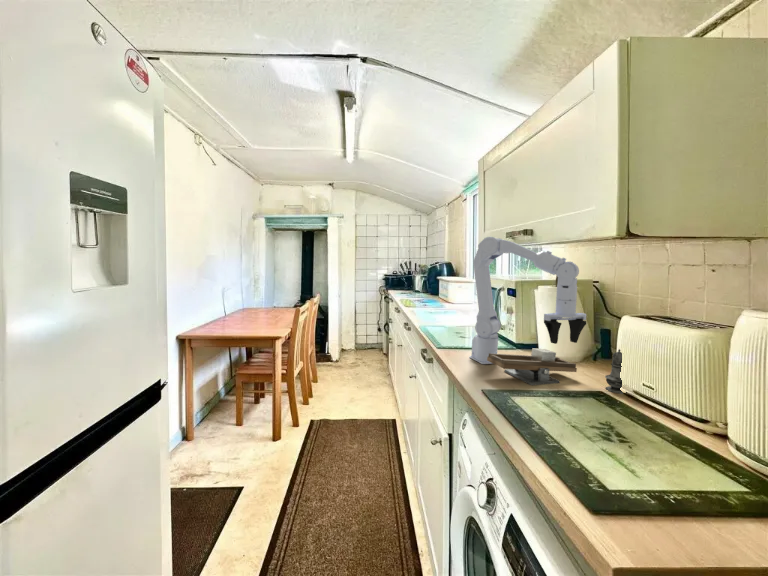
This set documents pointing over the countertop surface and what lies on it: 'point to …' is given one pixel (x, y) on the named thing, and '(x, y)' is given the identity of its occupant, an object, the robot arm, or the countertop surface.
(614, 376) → the dark grey chess piece
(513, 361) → the brown wooden tray
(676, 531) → the countertop surface
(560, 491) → the countertop surface
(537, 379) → the fulcrum stand
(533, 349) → the white block
